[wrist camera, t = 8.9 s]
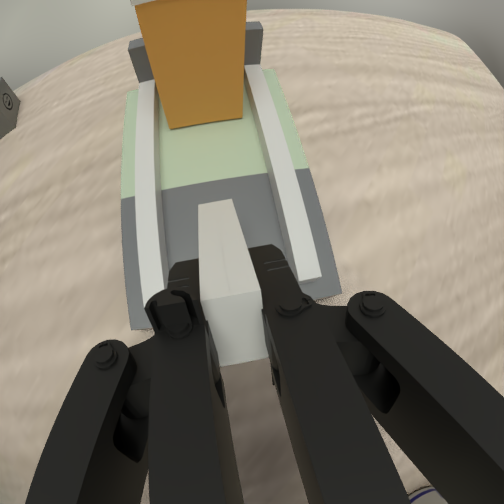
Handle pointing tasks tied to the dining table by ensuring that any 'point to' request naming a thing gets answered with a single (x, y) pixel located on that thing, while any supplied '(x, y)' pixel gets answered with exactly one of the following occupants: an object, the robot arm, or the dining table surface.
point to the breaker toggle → (195, 57)
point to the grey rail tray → (217, 183)
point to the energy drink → (427, 497)
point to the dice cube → (7, 108)
